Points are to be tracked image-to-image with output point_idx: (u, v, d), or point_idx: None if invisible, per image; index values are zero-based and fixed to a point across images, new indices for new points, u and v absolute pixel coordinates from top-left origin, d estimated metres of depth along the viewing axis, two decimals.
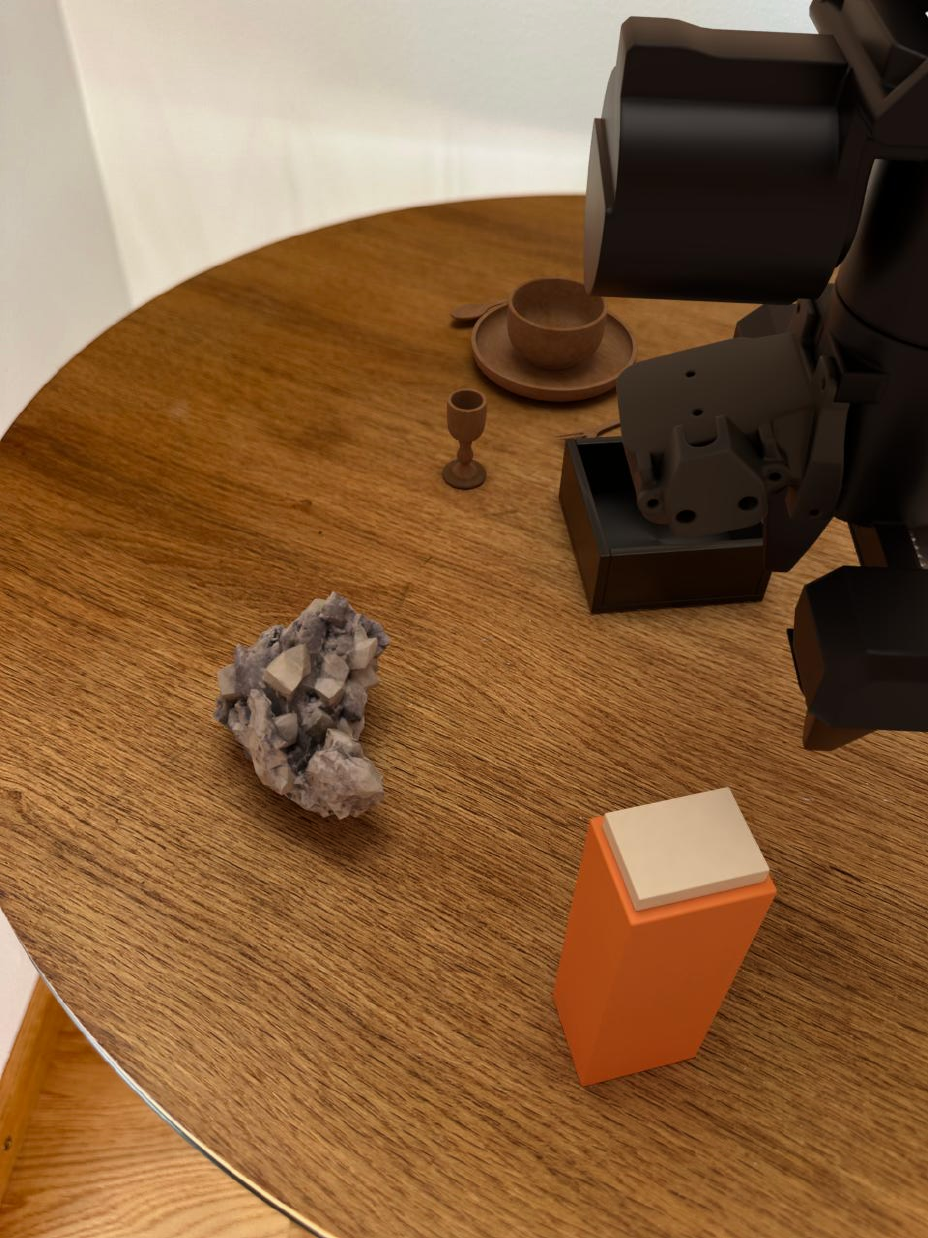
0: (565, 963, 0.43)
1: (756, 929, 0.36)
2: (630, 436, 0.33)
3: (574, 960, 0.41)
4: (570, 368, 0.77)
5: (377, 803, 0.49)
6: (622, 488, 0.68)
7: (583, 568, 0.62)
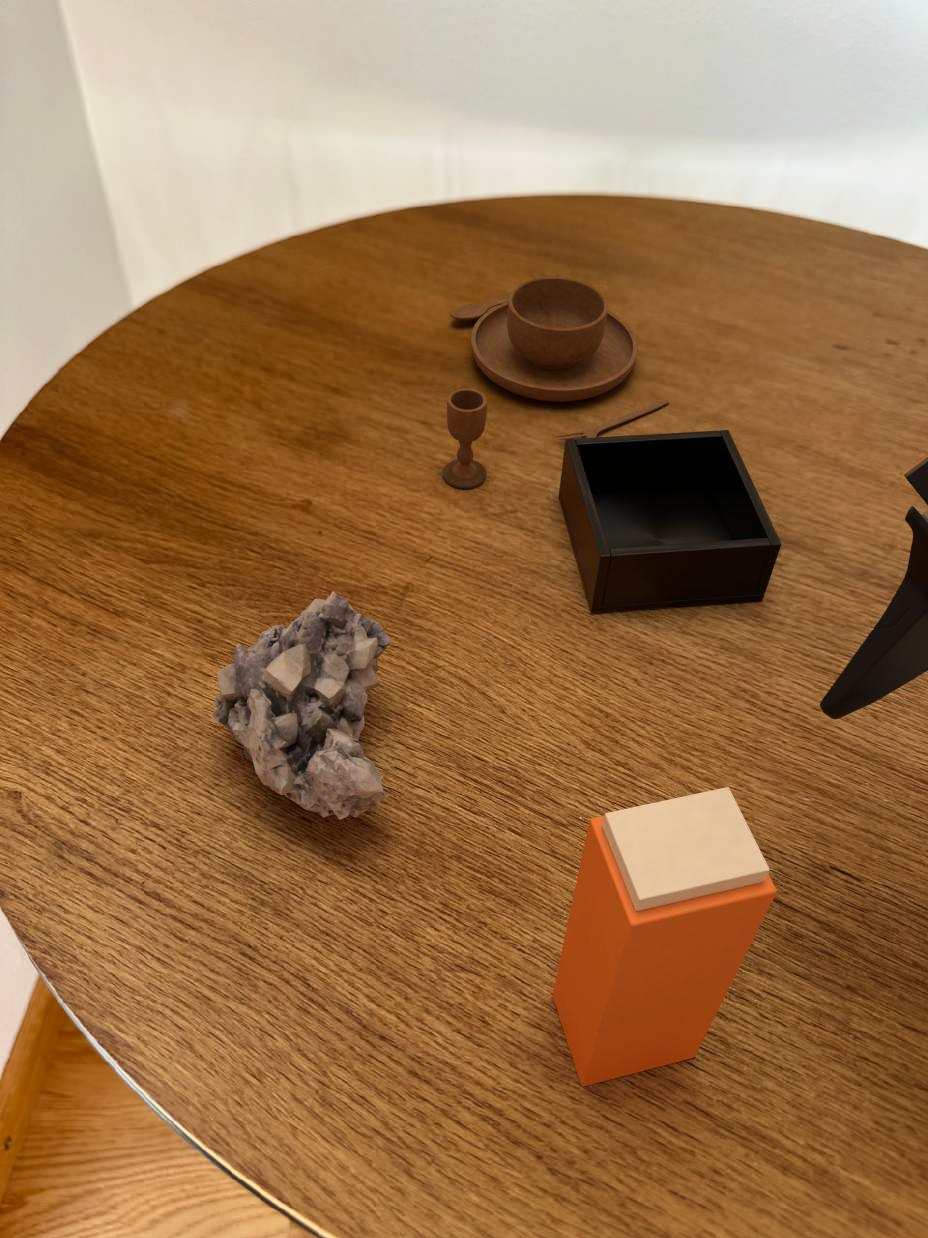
0: (565, 963, 0.43)
1: (756, 929, 0.36)
2: None
3: (574, 960, 0.41)
4: (570, 368, 0.77)
5: (377, 803, 0.49)
6: (622, 488, 0.68)
7: (583, 568, 0.62)
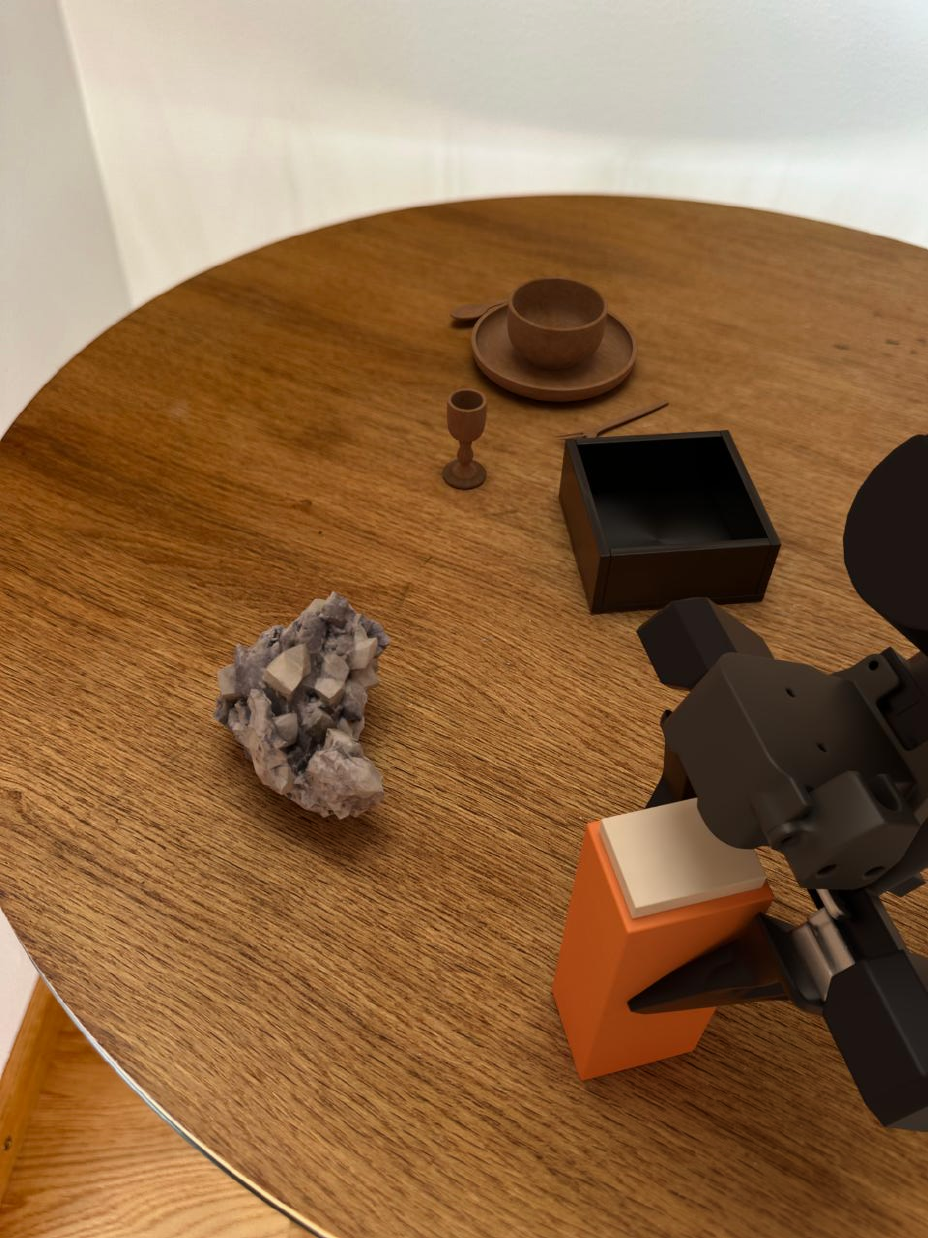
0: (563, 960, 0.43)
1: None
2: (774, 753, 0.29)
3: (572, 958, 0.41)
4: (570, 368, 0.77)
5: (377, 803, 0.49)
6: (622, 488, 0.68)
7: (583, 568, 0.62)
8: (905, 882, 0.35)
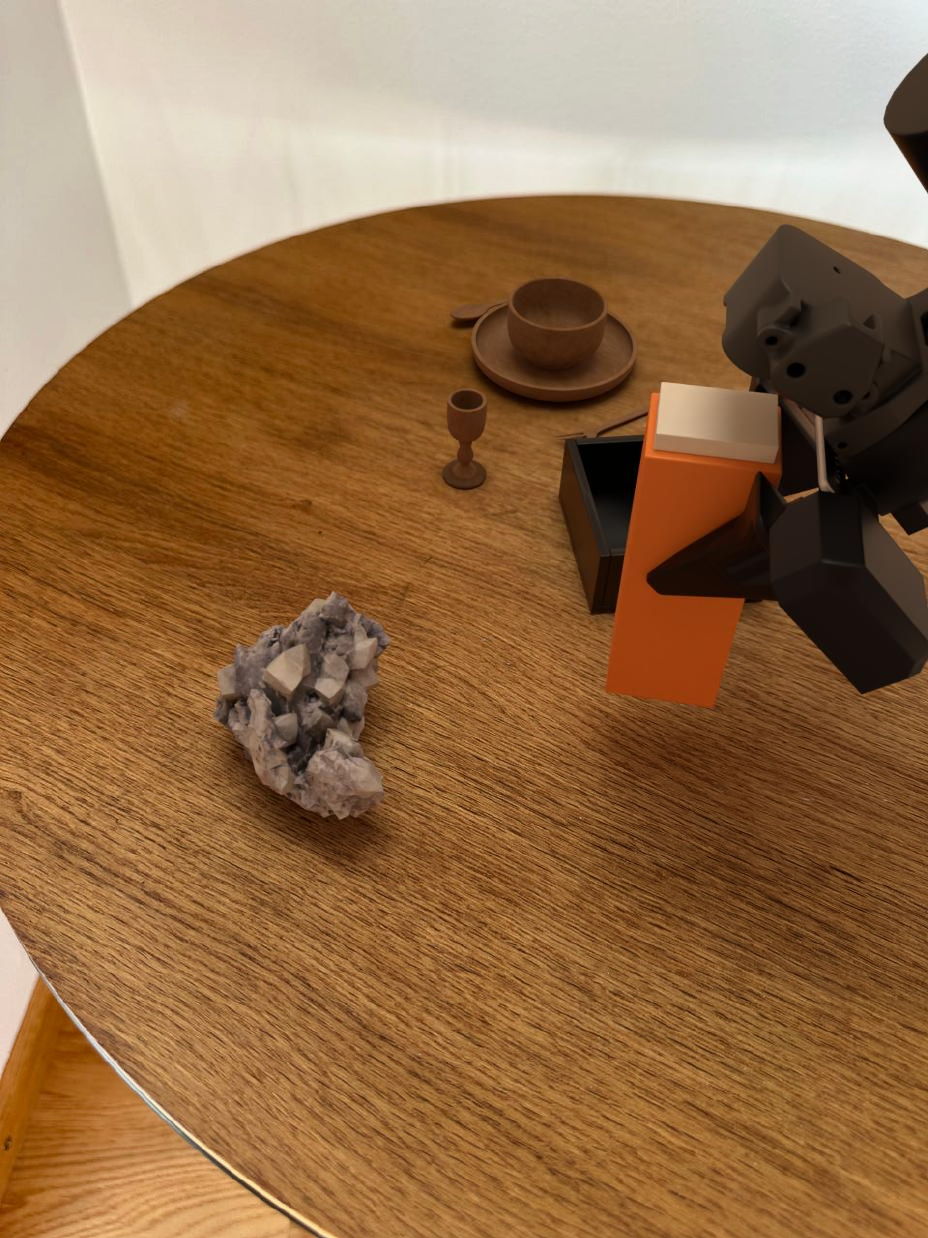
0: (621, 576, 0.49)
1: None
2: (787, 275, 0.34)
3: (624, 561, 0.48)
4: (570, 368, 0.77)
5: (377, 803, 0.49)
6: (622, 488, 0.68)
7: (583, 568, 0.62)
8: (912, 511, 0.39)
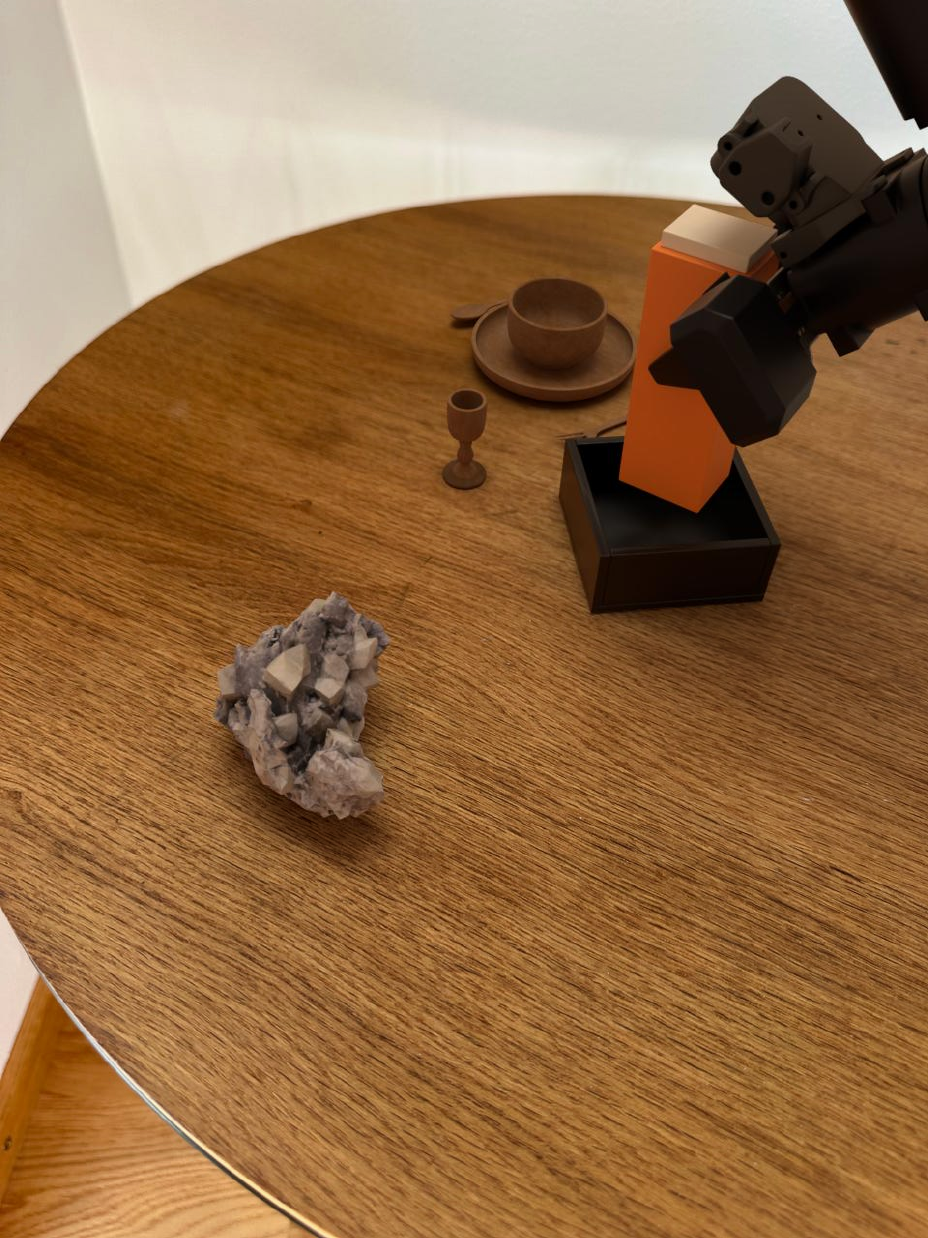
0: None
1: None
2: (759, 102, 0.45)
3: None
4: (570, 368, 0.77)
5: (377, 803, 0.49)
6: (622, 488, 0.68)
7: (583, 568, 0.62)
8: (841, 333, 0.47)
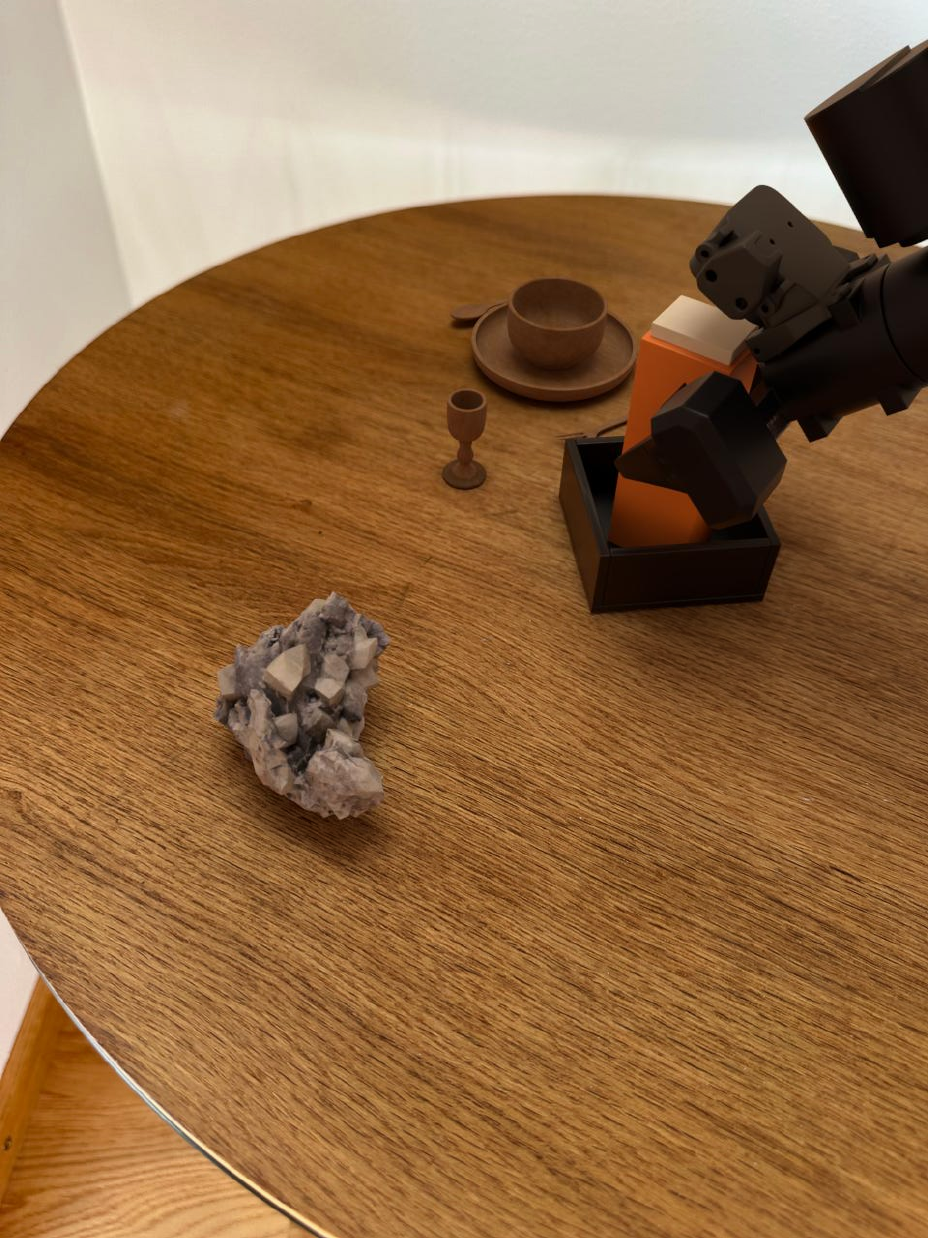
0: None
1: None
2: (734, 213, 0.48)
3: None
4: (570, 368, 0.77)
5: (377, 803, 0.49)
6: None
7: (583, 568, 0.62)
8: (811, 421, 0.51)
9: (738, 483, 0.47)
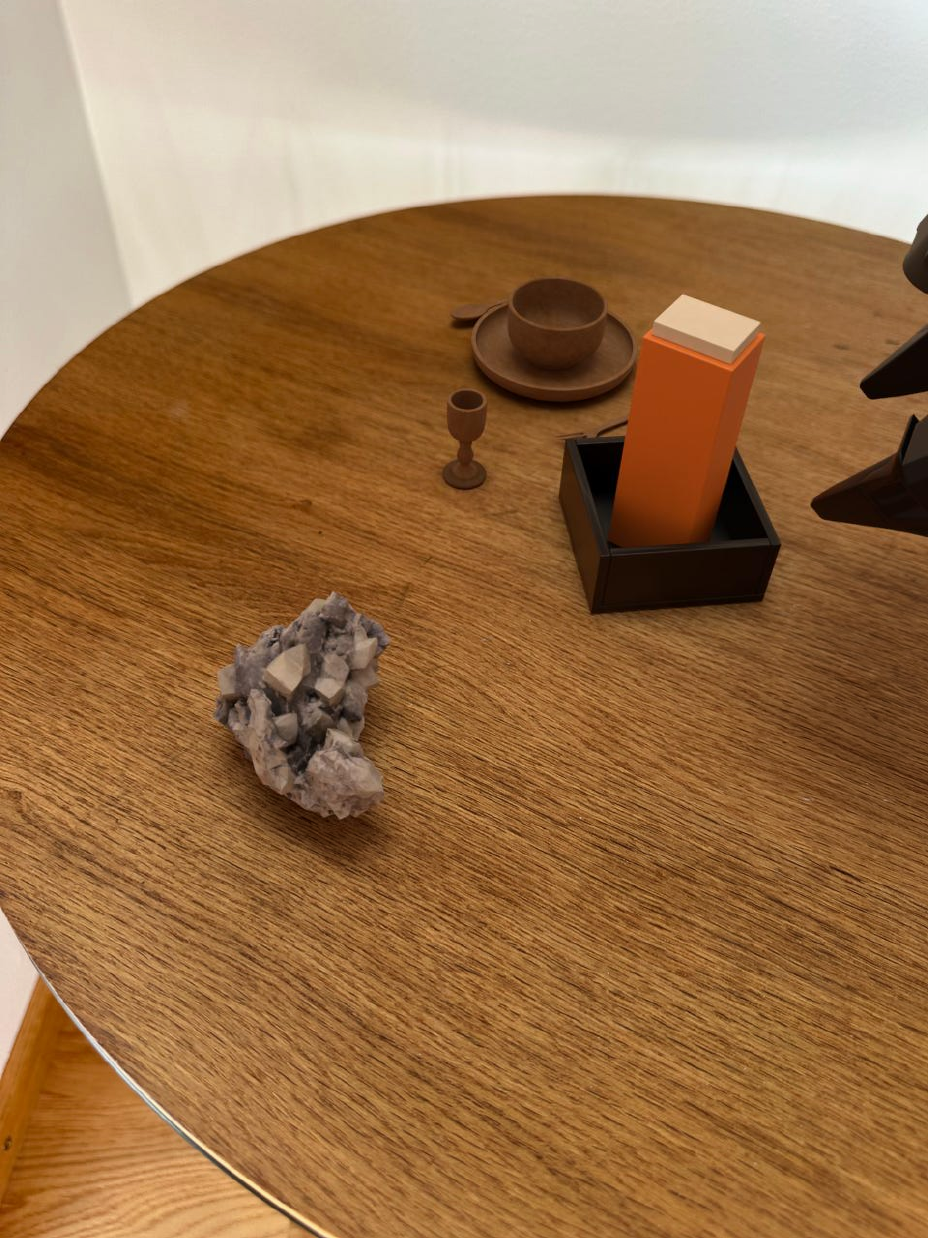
0: None
1: (719, 412, 0.54)
2: None
3: None
4: (570, 368, 0.77)
5: (377, 803, 0.49)
6: None
7: (583, 568, 0.62)
8: None
9: None
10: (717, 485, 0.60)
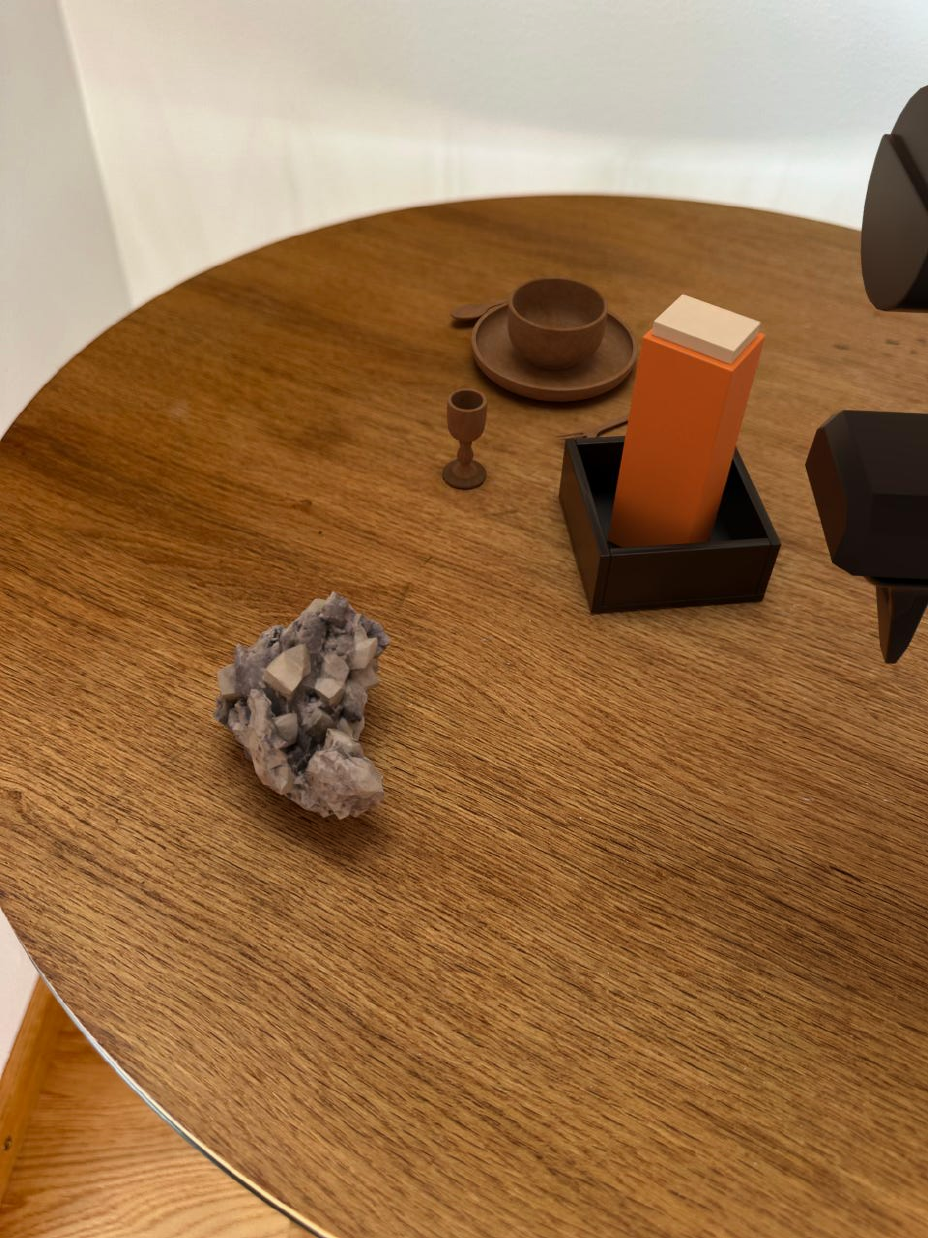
0: None
1: (719, 412, 0.54)
2: None
3: None
4: (570, 368, 0.77)
5: (377, 803, 0.49)
6: None
7: (583, 568, 0.62)
8: None
9: None
10: (717, 485, 0.60)
